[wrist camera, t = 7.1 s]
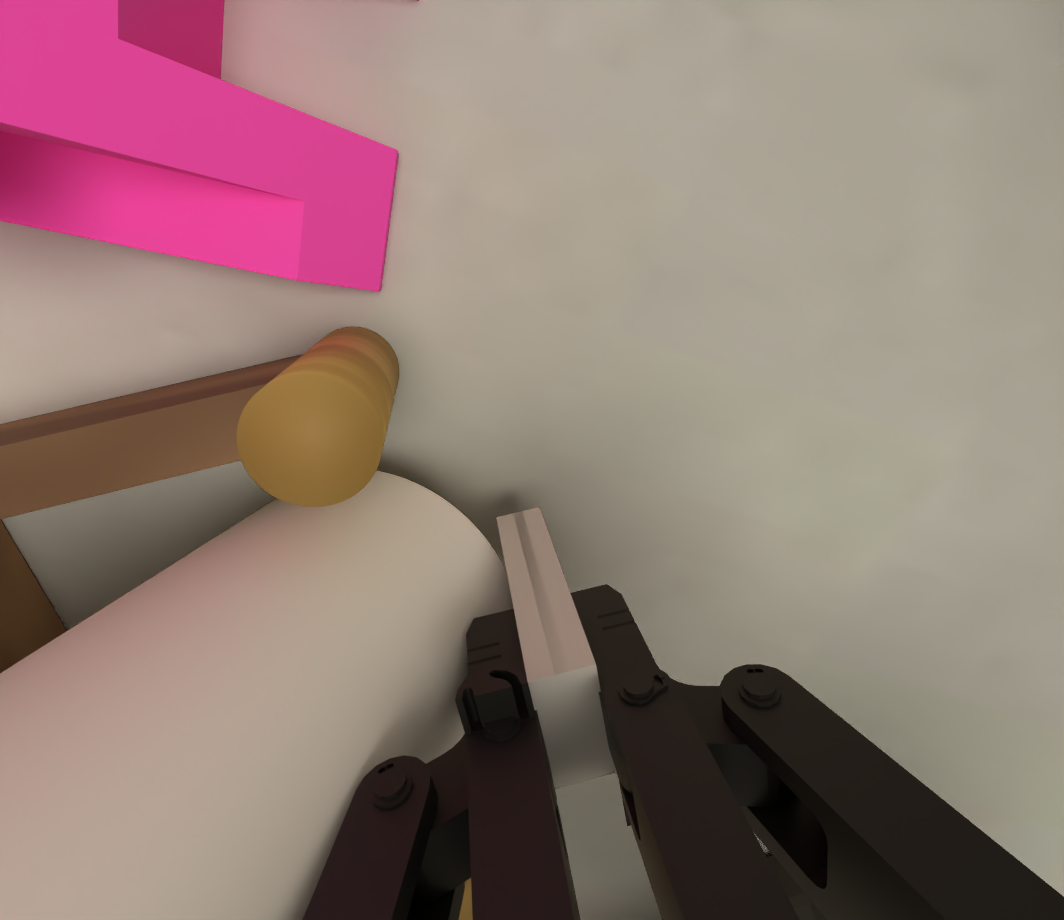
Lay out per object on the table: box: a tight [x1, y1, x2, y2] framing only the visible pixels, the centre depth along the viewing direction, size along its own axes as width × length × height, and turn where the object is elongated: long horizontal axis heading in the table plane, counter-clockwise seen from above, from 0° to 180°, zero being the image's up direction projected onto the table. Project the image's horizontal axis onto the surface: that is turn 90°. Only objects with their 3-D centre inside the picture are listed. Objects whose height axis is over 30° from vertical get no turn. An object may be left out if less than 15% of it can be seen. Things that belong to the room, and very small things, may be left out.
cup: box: [0, 471, 514, 920], centre depth 10 cm, size 8×8×16 cm
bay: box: [0, 327, 473, 920], centre depth 15 cm, size 16×13×7 cm
